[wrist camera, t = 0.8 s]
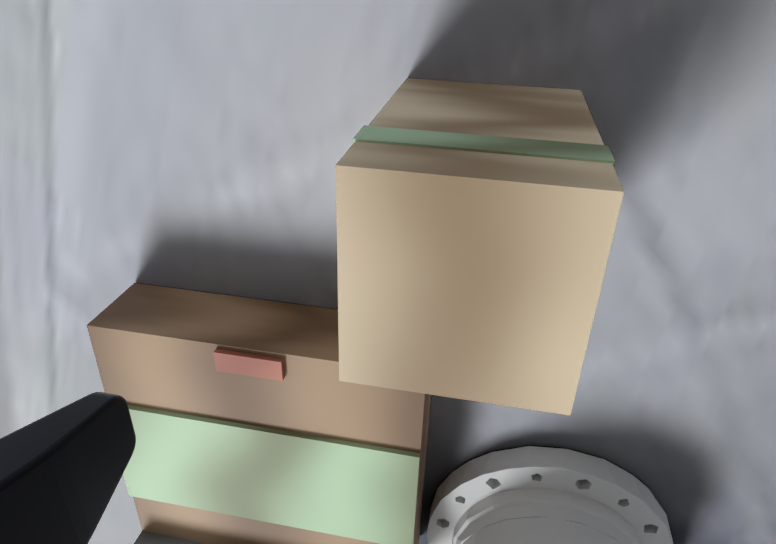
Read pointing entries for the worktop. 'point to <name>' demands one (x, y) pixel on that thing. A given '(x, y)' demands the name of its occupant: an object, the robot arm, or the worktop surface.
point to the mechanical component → (544, 502)
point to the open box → (257, 424)
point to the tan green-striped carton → (474, 243)
